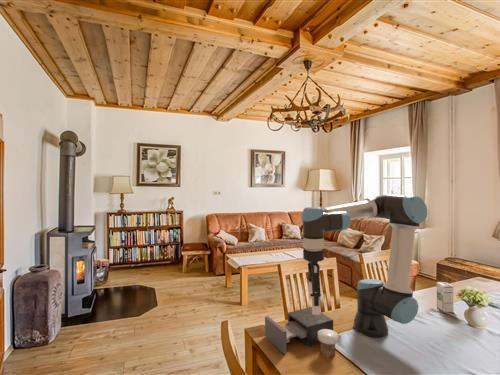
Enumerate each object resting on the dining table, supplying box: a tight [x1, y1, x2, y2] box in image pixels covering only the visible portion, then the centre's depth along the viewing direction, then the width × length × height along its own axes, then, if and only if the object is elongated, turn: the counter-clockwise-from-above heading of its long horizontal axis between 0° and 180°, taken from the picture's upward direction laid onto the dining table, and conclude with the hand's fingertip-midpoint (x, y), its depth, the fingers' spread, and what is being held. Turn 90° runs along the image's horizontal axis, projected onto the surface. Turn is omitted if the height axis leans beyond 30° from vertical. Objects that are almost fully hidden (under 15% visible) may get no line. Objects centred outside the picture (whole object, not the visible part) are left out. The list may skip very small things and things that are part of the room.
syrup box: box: [436, 281, 455, 313], centre depth 154 cm, size 6×6×14 cm
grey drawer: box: [264, 315, 307, 354], centre depth 123 cm, size 15×15×9 cm
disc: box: [318, 329, 339, 345], centre depth 113 cm, size 8×8×2 cm
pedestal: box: [320, 342, 336, 358], centre depth 113 cm, size 4×4×6 cm
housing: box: [287, 306, 334, 348], centre depth 128 cm, size 14×15×8 cm
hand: (314, 305), depth 104 cm, fingers open, 13 cm apart
